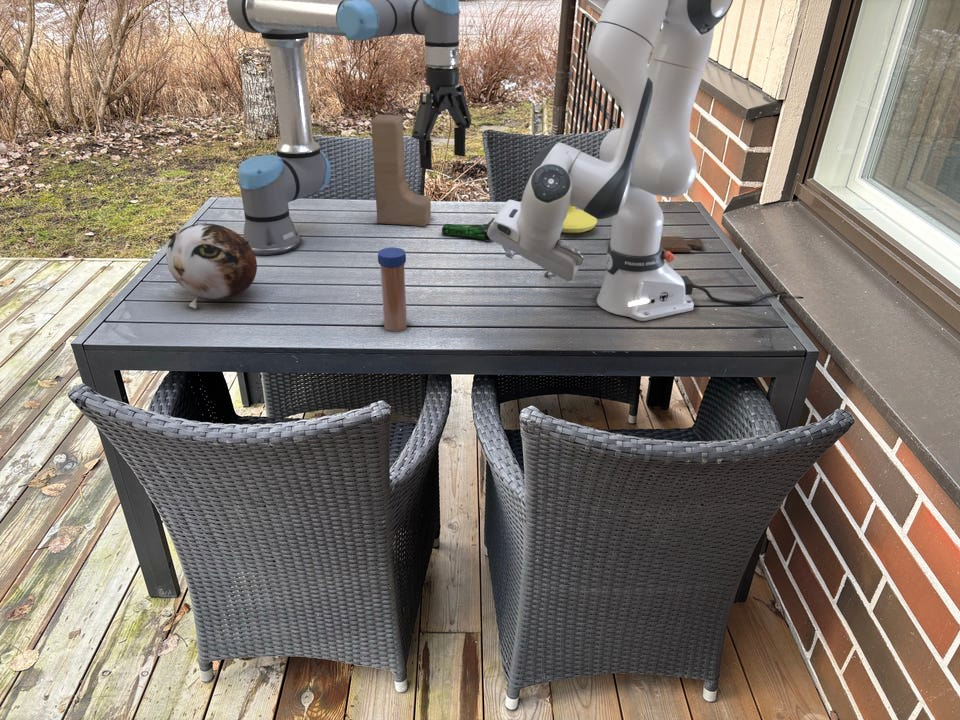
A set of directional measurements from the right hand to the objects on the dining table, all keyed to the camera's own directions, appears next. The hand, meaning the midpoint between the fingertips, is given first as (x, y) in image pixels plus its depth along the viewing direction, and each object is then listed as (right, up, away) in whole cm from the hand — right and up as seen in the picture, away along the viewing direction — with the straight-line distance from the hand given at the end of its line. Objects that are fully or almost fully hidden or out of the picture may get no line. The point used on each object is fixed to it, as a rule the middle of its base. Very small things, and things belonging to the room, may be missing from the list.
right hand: (529, 265), depth 153 cm
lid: (-29, +2, -4) cm, 29 cm away
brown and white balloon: (-72, -5, +17) cm, 75 cm away
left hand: (-19, +27, +17) cm, 37 cm away
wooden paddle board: (+39, +12, +48) cm, 63 cm away
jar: (-29, -13, +5) cm, 32 cm away
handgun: (-12, +17, +55) cm, 59 cm away
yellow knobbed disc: (+16, +18, +58) cm, 63 cm away
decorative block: (-33, +21, +62) cm, 74 cm away
